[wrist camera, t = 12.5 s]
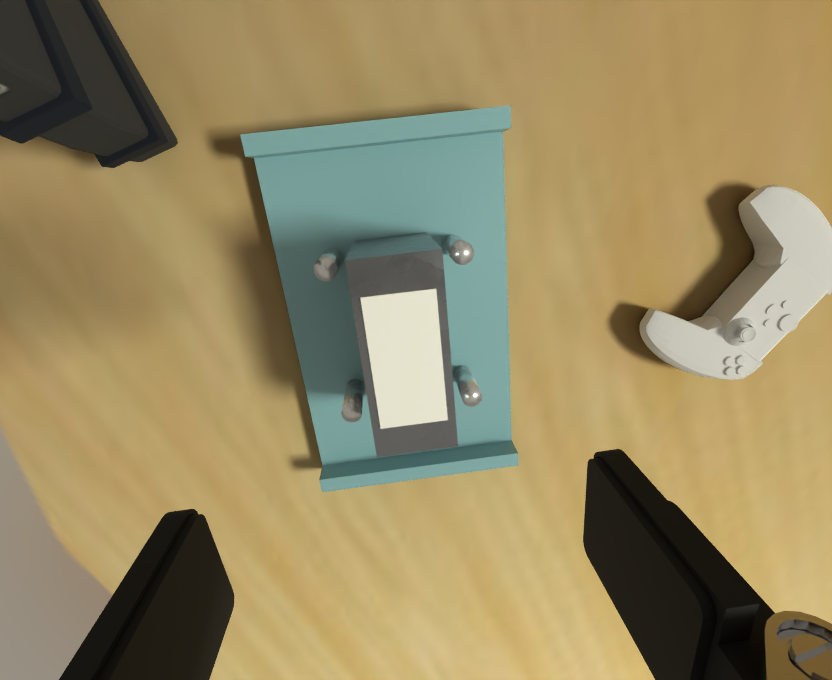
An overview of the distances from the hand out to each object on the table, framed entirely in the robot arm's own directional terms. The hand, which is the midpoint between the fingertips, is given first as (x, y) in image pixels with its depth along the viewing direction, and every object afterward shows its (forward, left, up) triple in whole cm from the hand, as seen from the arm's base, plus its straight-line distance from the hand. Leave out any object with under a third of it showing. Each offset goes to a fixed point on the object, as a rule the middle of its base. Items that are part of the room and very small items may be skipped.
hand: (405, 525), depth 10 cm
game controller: (+3, +26, -23) cm, 35 cm away
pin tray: (+2, +1, -23) cm, 23 cm away
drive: (+2, +1, -21) cm, 21 cm away
